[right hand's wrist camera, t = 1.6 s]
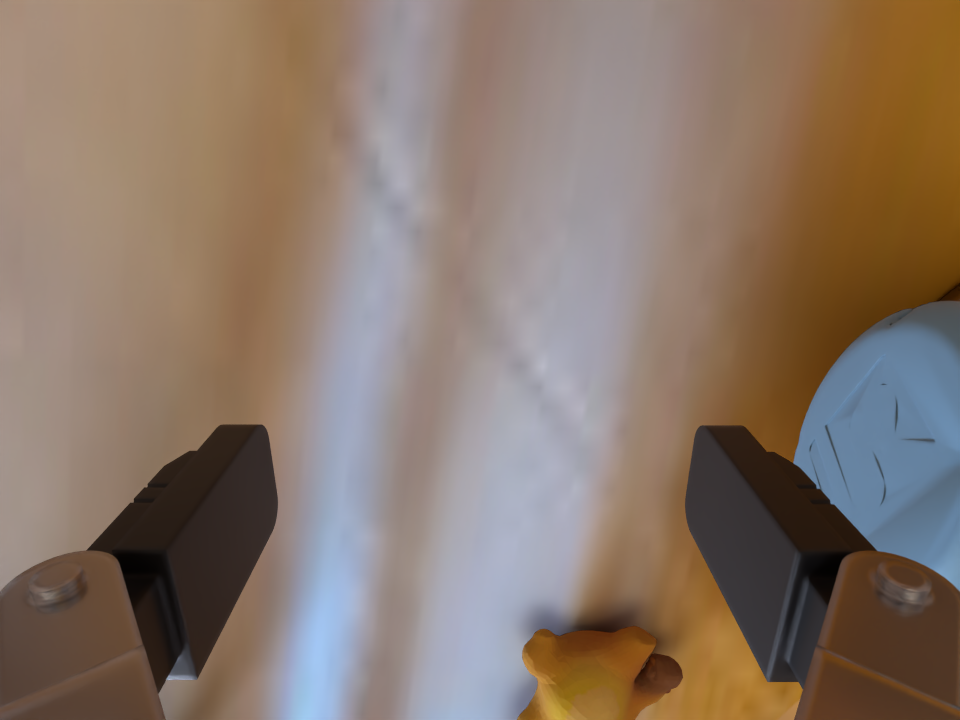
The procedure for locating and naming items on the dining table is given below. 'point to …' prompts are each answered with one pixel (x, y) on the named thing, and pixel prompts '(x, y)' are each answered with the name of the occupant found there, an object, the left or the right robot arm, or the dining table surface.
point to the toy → (596, 674)
